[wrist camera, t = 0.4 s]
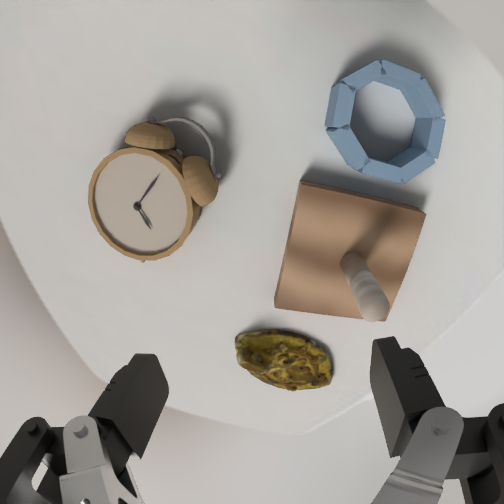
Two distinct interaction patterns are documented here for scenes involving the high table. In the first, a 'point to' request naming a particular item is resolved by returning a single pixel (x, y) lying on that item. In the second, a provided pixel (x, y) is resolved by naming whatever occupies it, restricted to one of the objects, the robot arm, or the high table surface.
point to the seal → (284, 359)
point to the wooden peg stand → (346, 253)
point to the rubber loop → (420, 102)
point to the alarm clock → (151, 192)
